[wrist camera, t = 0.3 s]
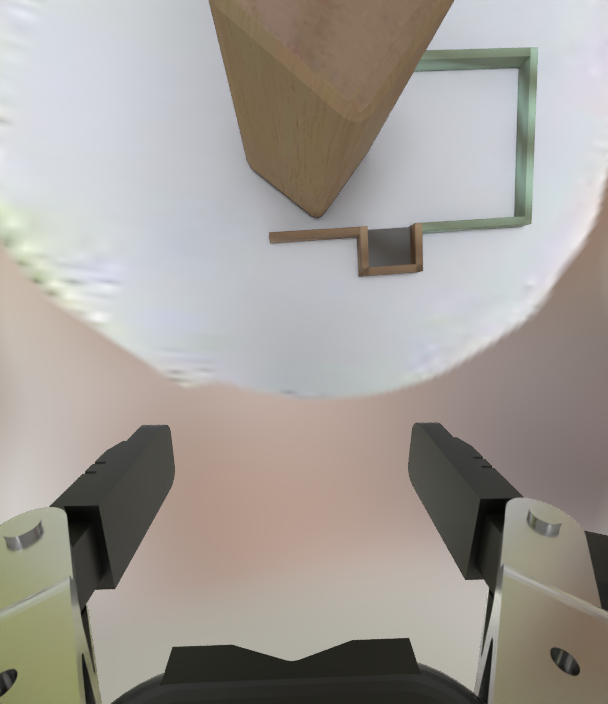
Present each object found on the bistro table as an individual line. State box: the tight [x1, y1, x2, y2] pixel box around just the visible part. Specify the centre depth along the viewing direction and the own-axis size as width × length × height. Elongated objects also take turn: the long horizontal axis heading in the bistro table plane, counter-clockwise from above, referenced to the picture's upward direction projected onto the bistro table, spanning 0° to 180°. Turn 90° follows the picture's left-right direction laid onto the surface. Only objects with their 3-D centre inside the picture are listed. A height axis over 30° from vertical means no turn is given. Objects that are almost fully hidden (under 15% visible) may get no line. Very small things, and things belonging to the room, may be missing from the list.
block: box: [209, 0, 454, 218], centre depth 24 cm, size 10×10×20 cm
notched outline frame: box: [269, 47, 538, 277], centre depth 34 cm, size 26×30×2 cm
